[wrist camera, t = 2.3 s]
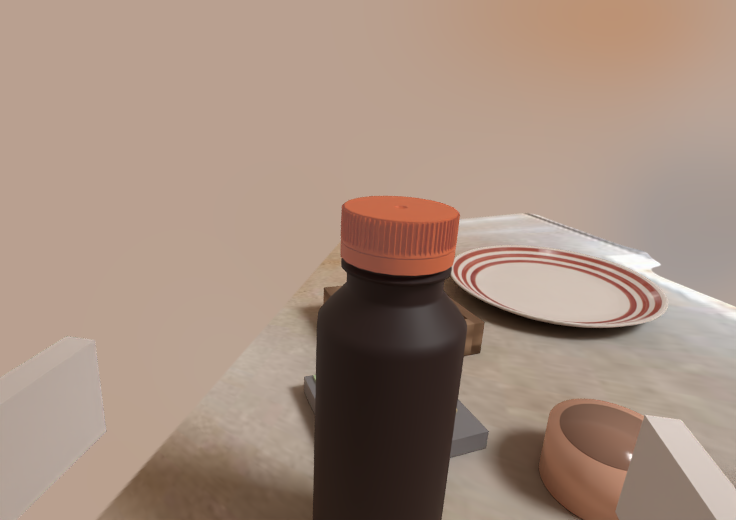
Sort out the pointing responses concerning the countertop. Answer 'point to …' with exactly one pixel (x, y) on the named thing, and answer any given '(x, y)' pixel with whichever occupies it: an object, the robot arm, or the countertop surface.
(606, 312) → the dinner plate
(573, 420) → the ramekin
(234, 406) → the countertop surface
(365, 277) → the vinegar
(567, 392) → the countertop surface
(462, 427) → the tester pad
